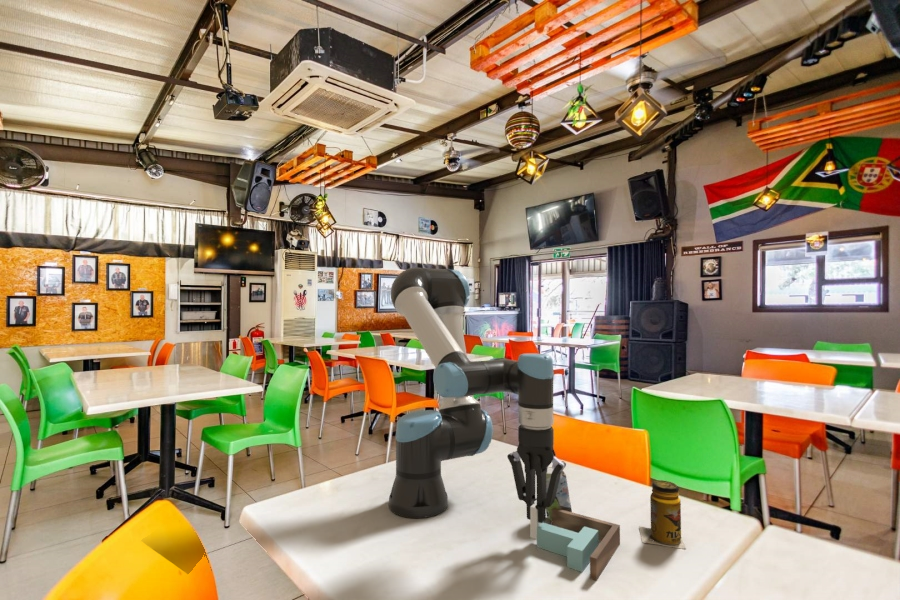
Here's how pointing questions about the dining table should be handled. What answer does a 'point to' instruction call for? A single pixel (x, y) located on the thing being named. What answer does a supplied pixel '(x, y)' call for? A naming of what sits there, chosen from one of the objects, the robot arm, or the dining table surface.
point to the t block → (569, 544)
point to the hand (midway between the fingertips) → (536, 535)
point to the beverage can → (558, 494)
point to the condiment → (664, 516)
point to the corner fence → (606, 535)
